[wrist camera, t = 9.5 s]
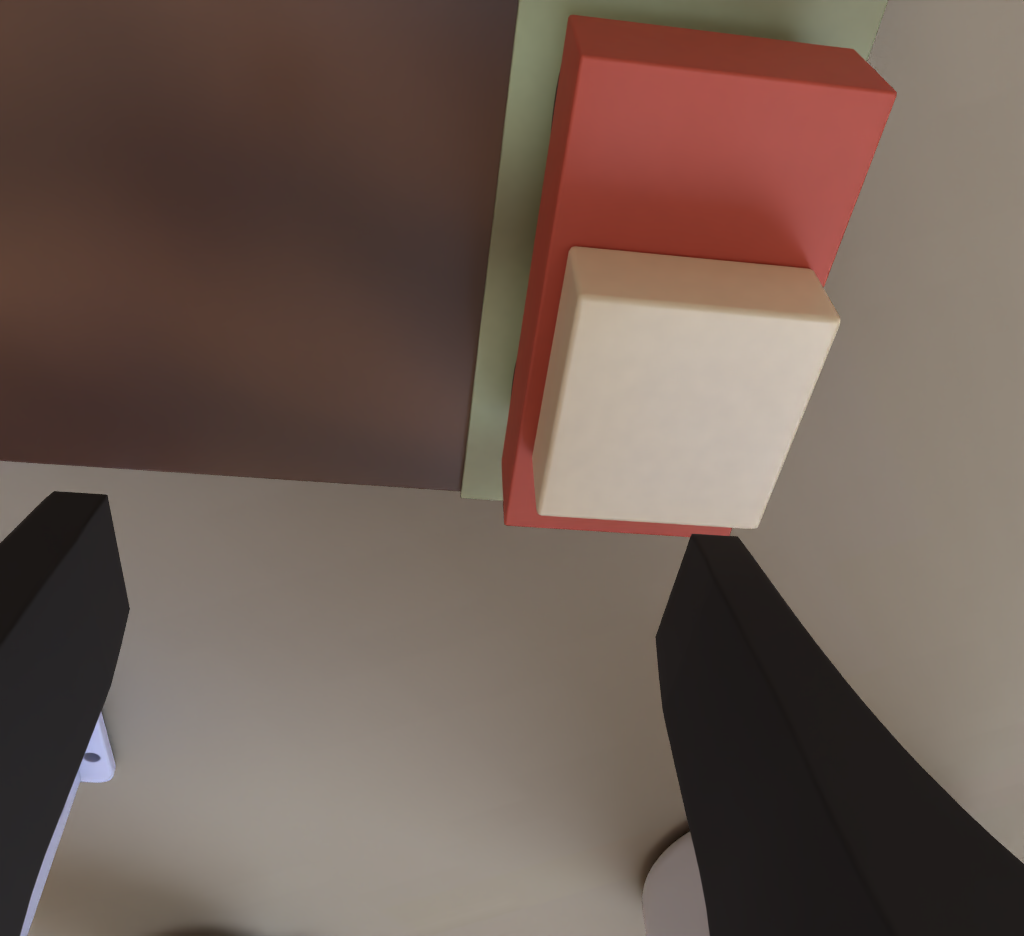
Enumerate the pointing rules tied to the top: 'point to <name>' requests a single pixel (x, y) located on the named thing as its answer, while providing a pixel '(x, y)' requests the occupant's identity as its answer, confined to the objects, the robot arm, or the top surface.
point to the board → (289, 225)
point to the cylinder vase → (675, 893)
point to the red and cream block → (681, 274)
